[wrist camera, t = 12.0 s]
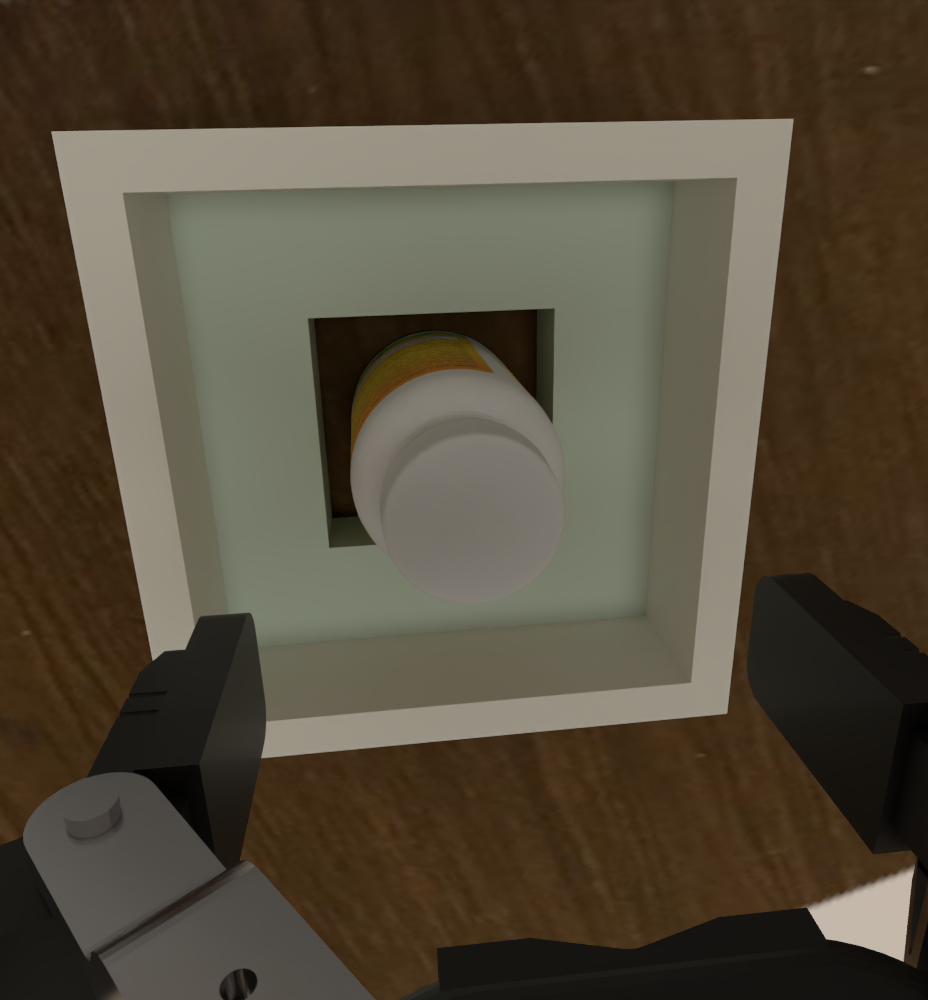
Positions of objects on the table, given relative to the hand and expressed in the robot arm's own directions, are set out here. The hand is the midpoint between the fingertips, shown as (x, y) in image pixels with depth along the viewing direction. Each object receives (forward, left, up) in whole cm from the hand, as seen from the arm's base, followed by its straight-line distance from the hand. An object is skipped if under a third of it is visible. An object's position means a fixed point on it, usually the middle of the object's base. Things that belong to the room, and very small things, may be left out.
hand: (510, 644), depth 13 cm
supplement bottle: (0, 0, -15) cm, 15 cm away
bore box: (0, 0, -15) cm, 15 cm away
